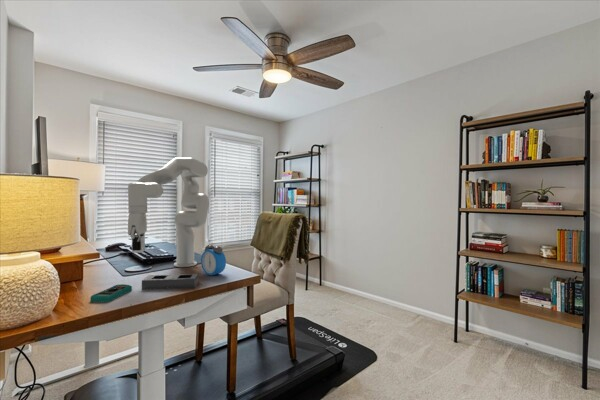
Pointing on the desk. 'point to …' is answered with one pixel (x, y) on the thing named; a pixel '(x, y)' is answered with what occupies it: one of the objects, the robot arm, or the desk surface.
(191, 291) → the desk surface
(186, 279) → the rail
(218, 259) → the alarm clock
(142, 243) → the white green box
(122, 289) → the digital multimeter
